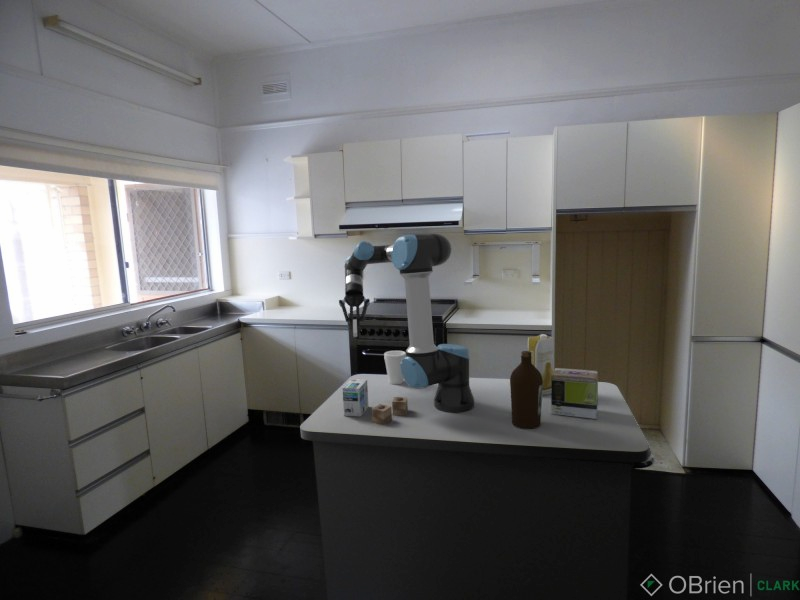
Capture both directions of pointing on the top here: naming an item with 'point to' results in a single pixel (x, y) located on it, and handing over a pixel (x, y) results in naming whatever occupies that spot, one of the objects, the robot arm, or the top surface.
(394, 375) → the foam cup
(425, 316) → the robot arm
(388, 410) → the walnut cube
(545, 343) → the juice carton
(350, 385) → the light bulb box
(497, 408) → the top surface
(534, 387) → the olive oil
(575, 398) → the tea box
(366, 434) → the top surface
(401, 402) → the walnut cube
